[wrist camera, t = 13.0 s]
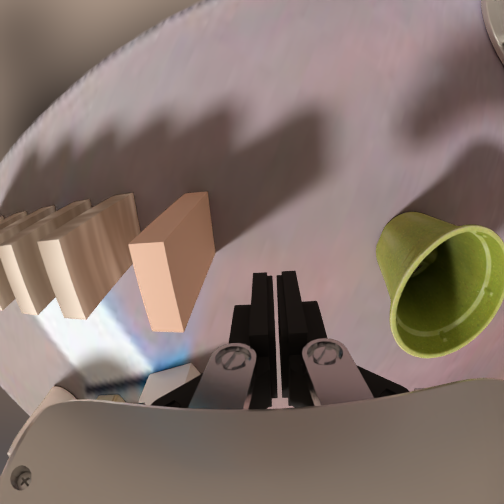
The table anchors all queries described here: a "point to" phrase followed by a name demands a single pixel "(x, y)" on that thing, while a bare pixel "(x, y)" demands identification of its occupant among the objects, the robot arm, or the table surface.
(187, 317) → the domino
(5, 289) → the domino
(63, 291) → the domino
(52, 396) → the drinking glass
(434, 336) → the plant pot
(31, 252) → the domino
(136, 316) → the table surface
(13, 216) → the domino
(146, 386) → the white cube
